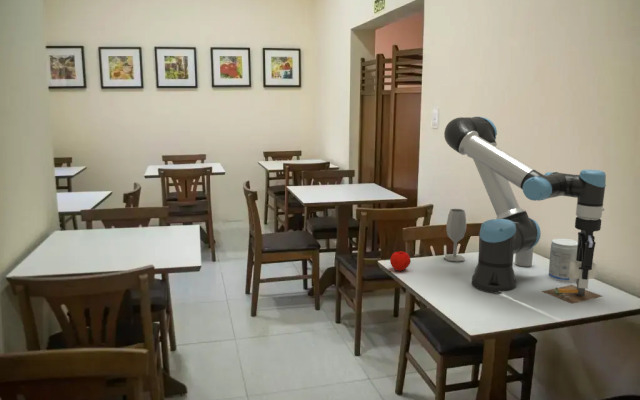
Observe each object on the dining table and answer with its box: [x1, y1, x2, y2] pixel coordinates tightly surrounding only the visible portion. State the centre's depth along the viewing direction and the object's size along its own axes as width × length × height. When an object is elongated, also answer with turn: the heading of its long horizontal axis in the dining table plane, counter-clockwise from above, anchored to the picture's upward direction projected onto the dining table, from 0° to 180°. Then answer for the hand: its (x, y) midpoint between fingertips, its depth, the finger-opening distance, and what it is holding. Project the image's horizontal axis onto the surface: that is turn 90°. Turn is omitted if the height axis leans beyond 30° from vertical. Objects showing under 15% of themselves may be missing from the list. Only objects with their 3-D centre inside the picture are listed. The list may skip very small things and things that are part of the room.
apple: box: [389, 250, 412, 272], centre depth 199 cm, size 8×8×7 cm
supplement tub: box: [548, 238, 578, 283], centre depth 189 cm, size 10×10×15 cm
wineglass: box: [443, 208, 467, 263], centre depth 213 cm, size 9×9×21 cm
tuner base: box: [541, 284, 603, 305], centre depth 174 cm, size 15×12×2 cm
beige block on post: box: [558, 261, 598, 296], centre depth 172 cm, size 12×3×11 cm, turn 90°
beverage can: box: [514, 247, 534, 268], centre depth 207 cm, size 6×6×12 cm
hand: (581, 285), depth 172 cm, fingers closed on beige block on post, 3 cm apart
